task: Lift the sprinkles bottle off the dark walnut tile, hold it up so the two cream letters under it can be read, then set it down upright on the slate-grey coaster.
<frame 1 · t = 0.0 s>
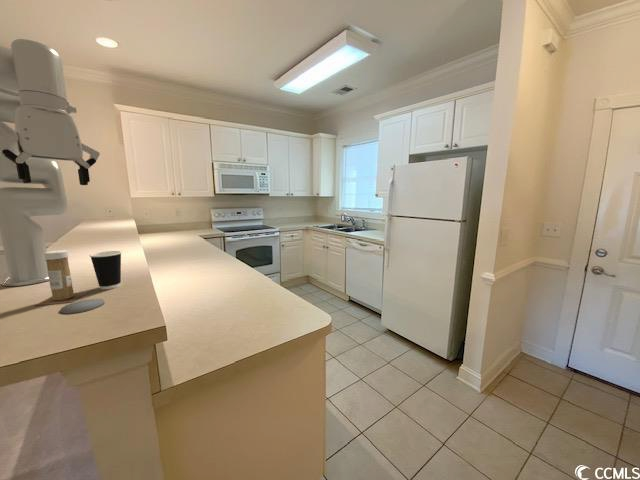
hand: (57, 184, 61), 31 cm above the countertop, tool pointing down, fingers open, 9 cm apart
code tile: (63, 298, 73), on the countertop
dixie cup: (110, 287, 83), on the countertop
sprinkles bottle: (63, 298, 73), resting on code tile
coaster: (83, 306, 68), on the countertop
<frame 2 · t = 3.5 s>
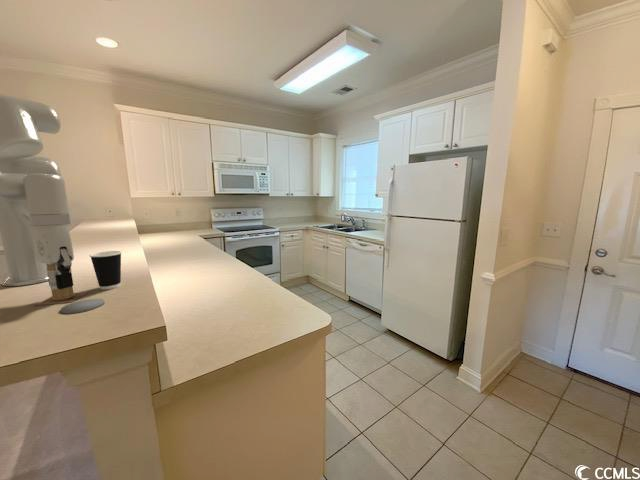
hand: (61, 285, 73), 4 cm above the countertop, tool pointing down, fingers closed on sprinkles bottle, 4 cm apart
sprinkles bottle: (63, 298, 73), resting on code tile, touching gripper
everything else where it was.
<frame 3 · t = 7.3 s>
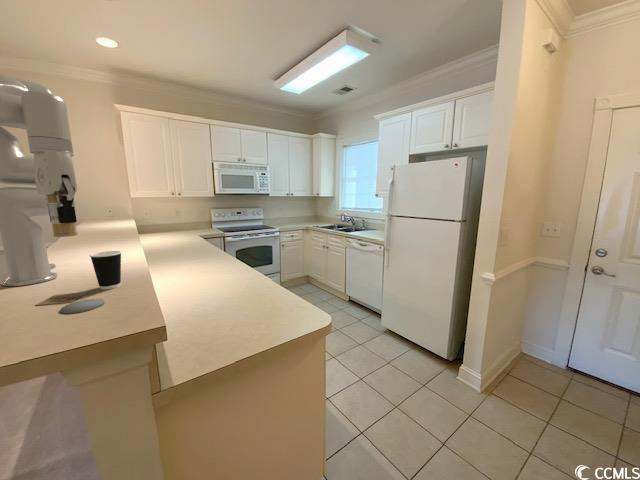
hand: (63, 222, 66), 22 cm above the countertop, tool pointing down, fingers closed on sprinkles bottle, 4 cm apart
sprinkles bottle: (65, 236, 67), point 18 cm above the countertop, touching gripper
everything else where it was.
when the fingers open (6 cm above the countertop, at t = 11.3 s): sprinkles bottle drops 2 cm, resting on coaster.
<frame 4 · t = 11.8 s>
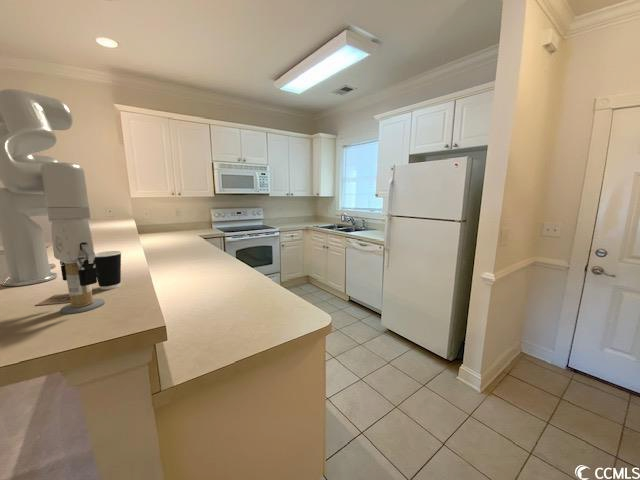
hand: (79, 281, 67), 7 cm above the countertop, tool pointing down, fingers open, 9 cm apart
sprinkles bottle: (82, 305, 68), resting on coaster
everything else where it was.
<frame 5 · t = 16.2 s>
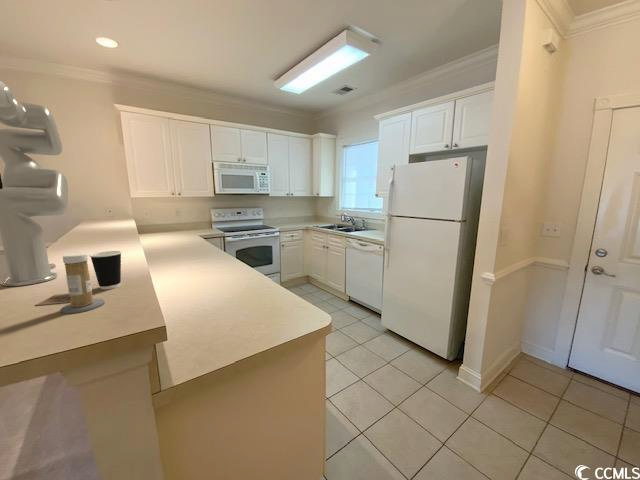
nothing on the countertop moved.
at the end: sprinkles bottle 0.4 cm off-centre on the coaster, point 0.3 cm above the coaster's base; sprinkles bottle tilted 0°; the gripper is holding nothing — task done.
